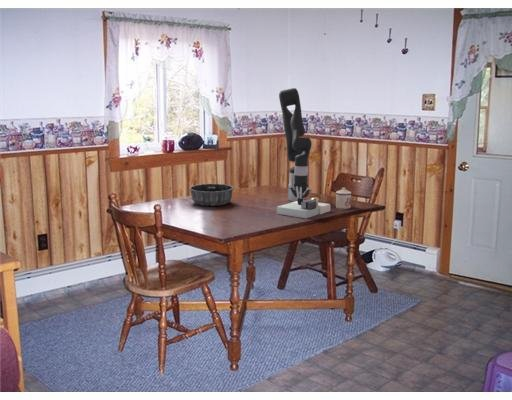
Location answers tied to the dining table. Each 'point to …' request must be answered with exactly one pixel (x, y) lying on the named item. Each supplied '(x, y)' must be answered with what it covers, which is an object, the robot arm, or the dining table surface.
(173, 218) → the dining table surface
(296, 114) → the robot arm
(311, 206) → the block
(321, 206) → the jamb block
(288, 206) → the door leaf
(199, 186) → the bundt pan
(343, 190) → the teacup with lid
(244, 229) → the dining table surface
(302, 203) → the bar
